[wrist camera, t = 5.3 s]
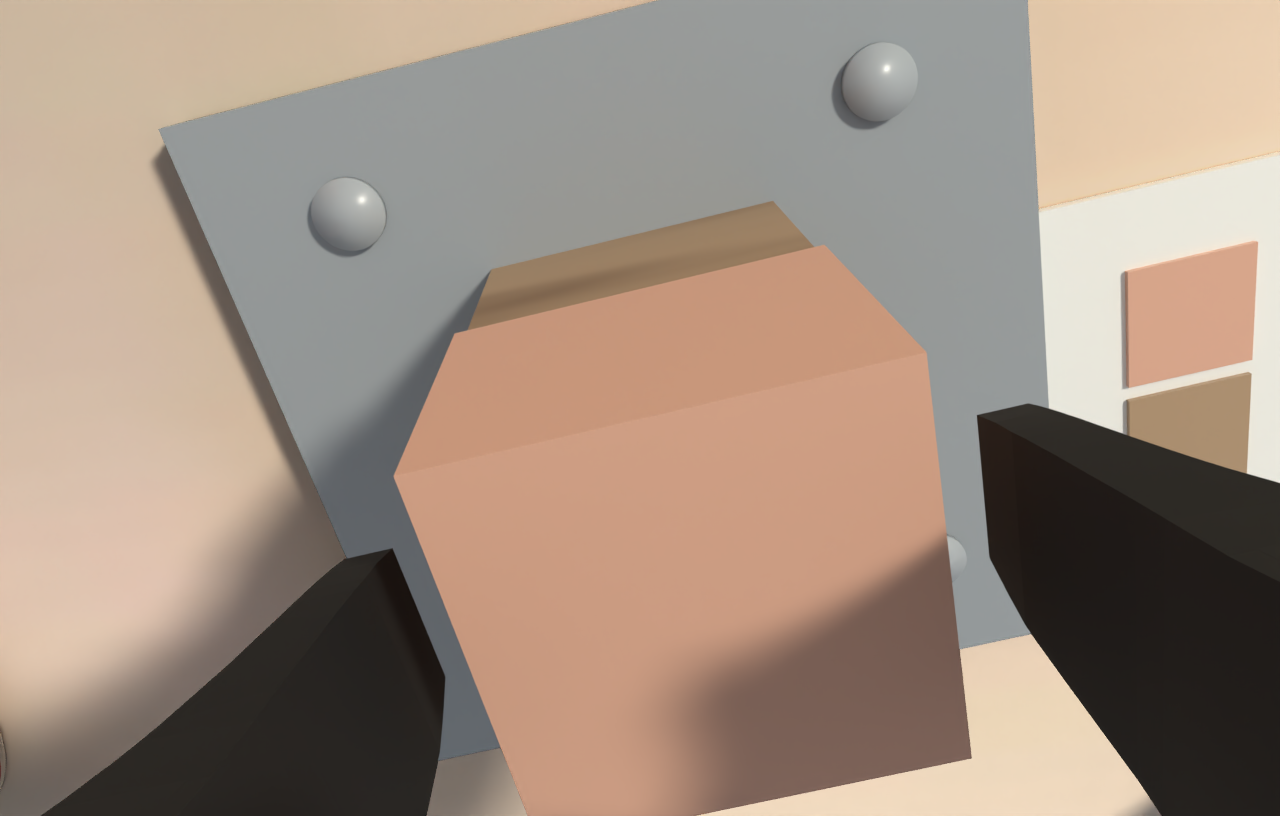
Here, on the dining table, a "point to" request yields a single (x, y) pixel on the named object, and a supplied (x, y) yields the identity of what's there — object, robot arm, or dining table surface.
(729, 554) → the terracotta block
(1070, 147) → the dining table surface
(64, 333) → the dining table surface
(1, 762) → the soda can
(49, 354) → the dining table surface
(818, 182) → the build plate
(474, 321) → the walnut block
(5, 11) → the dining table surface
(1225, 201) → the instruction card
